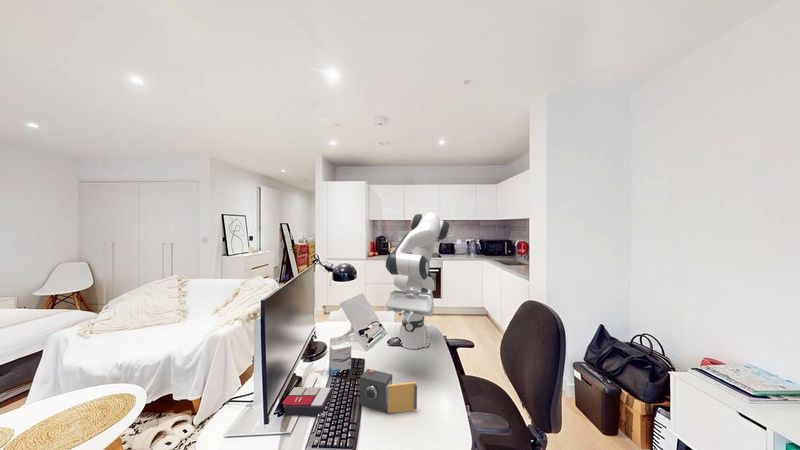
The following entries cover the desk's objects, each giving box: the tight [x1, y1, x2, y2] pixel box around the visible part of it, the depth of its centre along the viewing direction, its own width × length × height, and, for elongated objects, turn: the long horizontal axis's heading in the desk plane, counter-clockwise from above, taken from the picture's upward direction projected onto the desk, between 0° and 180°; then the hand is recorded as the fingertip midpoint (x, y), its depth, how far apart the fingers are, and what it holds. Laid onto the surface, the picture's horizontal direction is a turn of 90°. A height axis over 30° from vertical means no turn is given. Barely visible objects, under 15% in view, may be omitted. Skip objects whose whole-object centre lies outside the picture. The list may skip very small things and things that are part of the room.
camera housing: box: [359, 368, 393, 413], centre depth 95 cm, size 7×10×11 cm
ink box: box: [328, 334, 352, 374], centre depth 117 cm, size 8×5×15 cm, turn 123°
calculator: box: [282, 386, 333, 418], centre depth 94 cm, size 11×4×15 cm
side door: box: [384, 381, 418, 414], centre depth 91 cm, size 11×2×9 cm, turn 102°
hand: (405, 322), depth 107 cm, fingers closed
